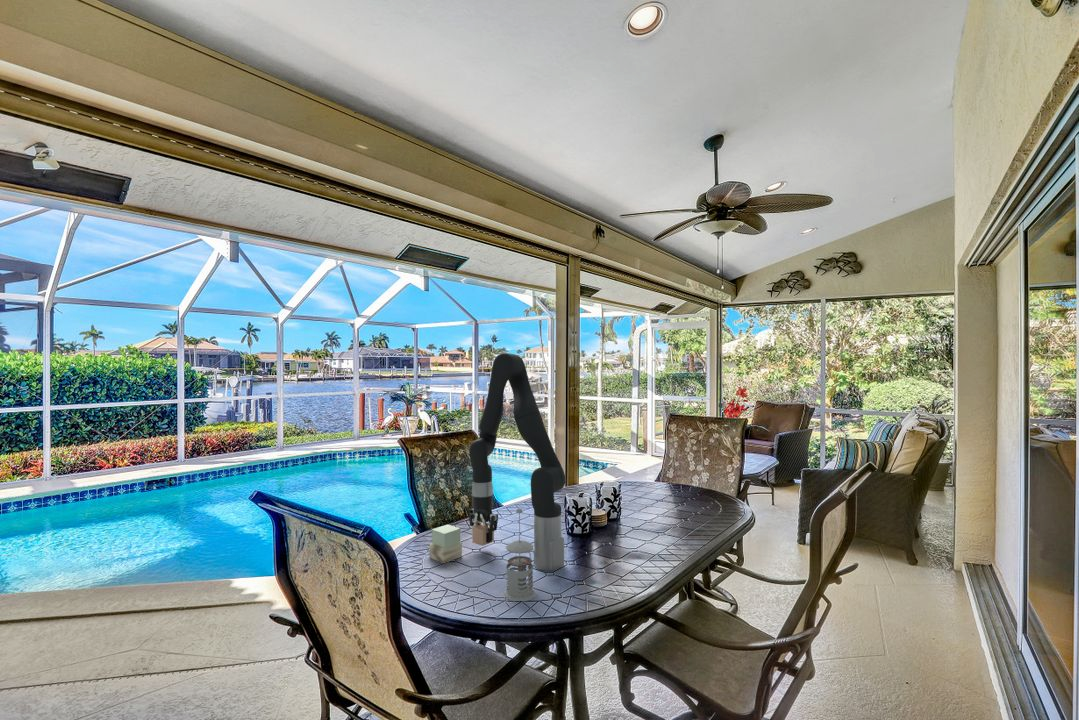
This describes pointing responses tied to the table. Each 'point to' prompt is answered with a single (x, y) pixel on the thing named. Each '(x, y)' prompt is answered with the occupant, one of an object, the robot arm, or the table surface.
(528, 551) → the french press
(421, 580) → the table surface
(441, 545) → the sage top block
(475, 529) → the terracotta block
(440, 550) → the birch base block
